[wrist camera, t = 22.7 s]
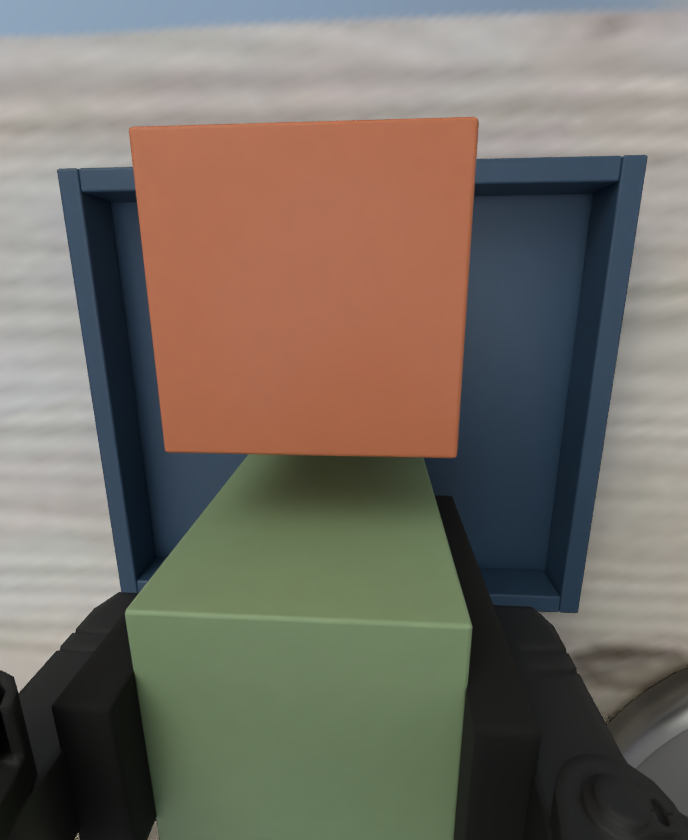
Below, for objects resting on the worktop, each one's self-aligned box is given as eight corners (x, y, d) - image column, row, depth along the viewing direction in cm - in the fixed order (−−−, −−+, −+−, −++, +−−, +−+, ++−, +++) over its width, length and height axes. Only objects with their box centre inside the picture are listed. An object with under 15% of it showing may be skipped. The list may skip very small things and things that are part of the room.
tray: (609, 174, 13) (648, 154, 11) (555, 577, 17) (578, 614, 15) (99, 185, 14) (55, 167, 12) (148, 562, 18) (121, 595, 16)
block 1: (419, 218, 13) (480, 114, 6) (414, 372, 15) (458, 459, 7) (267, 220, 14) (125, 125, 6) (274, 371, 15) (163, 454, 7)
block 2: (417, 434, 13) (474, 626, 6) (412, 569, 15) (452, 879, 7) (265, 432, 14) (122, 611, 6) (272, 565, 15) (160, 857, 7)
